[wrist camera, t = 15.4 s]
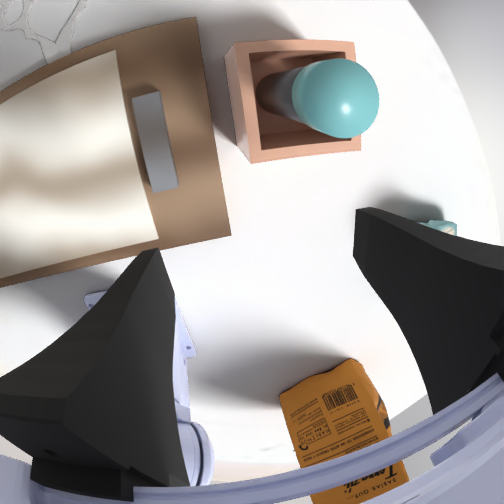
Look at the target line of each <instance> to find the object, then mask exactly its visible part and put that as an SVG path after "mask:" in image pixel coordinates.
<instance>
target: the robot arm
mask: <svg viewBox="0 0 504 504" xmlns="http://www.w3.org/2000/svg"><path fill="white" fill-rule="evenodd" d="M353 257H354V259H355V260H356V262H357V264H358V266H359V268H360V270H361V272H362V273H363V275H364V277H365V278H366V279H367V281H368V282H369V283H370V285H371V286H372V288H373V289H374V290H375V292H376V293H377V294H378V296H379V297H380V299H381V300H382V301H383V303H384V304H385V305H386V307H387V308H388V310H389V311H390V312H391V314H392V315H393V317H394V318H395V320H396V321H397V323H398V325H399V326H400V328H401V330H402V332H403V334H404V336H405V338H406V340H407V342H408V344H409V346H410V348H411V351H412V353H413V355H414V357H415V360H416V362H417V364H418V367H419V370H420V372H421V375H422V378H423V380H424V383H425V386H426V390H427V393H428V396H429V400H430V403H431V407H432V412H433V416H431V417H429V418H427V419H425V420H424V421H422V422H420V423H418V424H416V425H414V426H412V427H410V428H408V429H406V430H404V431H402V432H400V433H398V434H396V435H393V436H391V437H389V438H387V439H385V440H382V441H380V442H378V443H375V444H373V445H371V446H368V447H366V448H363V449H360V450H358V451H355V452H353V453H350V454H347V455H344V456H341V457H338V458H335V459H332V460H329V461H326V462H323V463H320V464H316V465H313V466H309V467H306V468H302V469H298V470H294V471H290V472H286V473H282V474H277V475H272V476H268V477H262V478H257V479H251V480H245V481H239V482H231V483H223V484H214V485H210V483H211V480H212V477H213V472H214V452H213V447H212V444H211V441H210V439H209V437H208V435H207V433H206V431H205V430H204V428H203V427H202V426H201V425H200V424H198V423H196V422H191V417H190V408H189V389H188V370H187V358H189V357H194V356H196V349H195V347H194V345H193V342H192V340H191V337H190V335H189V332H188V330H187V327H186V325H185V322H184V320H183V317H182V315H181V312H180V310H179V307H178V304H177V302H176V299H175V294H174V290H173V288H172V285H171V282H170V279H169V277H168V274H167V271H166V268H165V265H164V262H163V259H162V256H161V253H160V250H159V247H158V248H153V249H148V250H144V251H142V252H141V253H139V254H138V256H137V257H136V258H135V259H134V260H133V261H132V262H131V264H130V265H129V266H128V267H127V268H126V269H125V271H124V272H123V273H122V274H121V275H120V277H119V278H118V279H117V280H116V281H115V283H114V284H113V285H112V286H111V287H110V288H109V289H108V290H107V291H103V292H98V293H93V294H87V295H85V297H84V303H85V304H86V306H87V308H88V310H89V311H88V312H87V313H86V314H85V315H84V316H83V317H82V318H81V319H80V320H79V321H78V322H77V323H76V324H74V325H73V326H72V327H71V328H70V329H69V330H67V331H66V332H65V333H64V334H63V335H61V336H60V337H59V338H58V339H57V340H56V341H54V342H53V343H52V344H51V345H49V346H48V347H47V348H45V349H44V350H43V351H41V352H40V353H39V354H37V355H36V356H34V357H33V358H31V359H30V360H28V361H27V362H25V363H24V364H22V365H21V366H19V367H17V368H16V369H14V370H12V371H11V372H9V373H7V374H6V375H4V376H2V377H0V435H1V436H3V437H4V438H5V439H7V440H8V441H10V442H11V443H12V444H14V445H15V446H17V447H18V448H20V449H21V450H23V451H24V452H26V453H27V454H29V455H30V456H32V457H33V460H32V465H30V464H28V463H25V462H23V461H20V460H17V459H13V458H10V457H7V456H4V455H0V504H274V503H279V502H283V501H287V500H292V499H296V498H300V497H304V496H308V495H311V494H315V493H318V492H322V491H325V490H328V489H331V488H335V487H338V486H340V485H343V484H346V483H349V482H352V481H354V480H357V479H360V478H362V477H365V476H367V475H370V474H372V473H374V472H377V471H379V470H381V469H384V468H386V467H388V466H390V465H392V464H395V463H397V462H399V461H401V460H403V459H405V458H407V457H409V456H411V455H412V454H414V453H416V452H418V451H420V450H422V449H424V448H425V447H427V446H429V445H430V444H432V443H434V442H436V441H437V440H439V439H441V438H442V437H444V436H446V435H447V434H449V433H450V432H452V431H453V430H455V429H457V428H458V427H460V426H461V425H462V424H464V423H465V422H467V421H468V420H470V419H471V418H472V417H473V418H472V421H471V422H470V423H469V424H468V425H466V426H465V427H464V428H462V429H461V430H460V431H459V432H458V433H457V434H456V435H455V436H454V437H453V438H452V439H451V440H449V441H448V442H447V443H446V444H445V445H443V446H442V447H441V448H440V449H438V450H437V451H435V452H434V453H433V454H431V456H430V458H431V460H432V462H433V464H434V467H433V468H432V469H430V470H428V471H427V472H425V473H423V474H421V475H420V476H418V477H416V478H414V479H412V480H410V481H408V482H406V483H405V484H403V485H401V486H399V487H396V488H394V489H392V490H390V491H388V492H386V493H384V494H381V495H379V496H377V497H375V498H372V499H370V500H367V501H365V502H362V503H360V504H504V246H497V245H492V244H487V243H482V242H477V241H473V240H469V239H465V238H462V237H458V236H455V235H451V234H448V233H445V232H442V231H439V230H436V229H433V228H430V227H428V226H425V225H422V224H419V223H417V222H414V221H411V220H409V219H406V218H403V217H401V216H398V215H395V214H392V213H389V212H387V211H383V210H380V209H376V208H372V207H367V208H361V209H356V216H355V233H354V247H353ZM91 304H93V305H91ZM188 346H189V347H188Z"/></svg>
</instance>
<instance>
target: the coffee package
mask: <svg viewBox="0 0 504 504" xmlns="http://www.w3.org/2000/svg"><path fill="white" fill-rule="evenodd" d="M279 399H280V403H281V407H282V411H283V414H284V418H285V421H286V425H287V428H288V431H289V434H290V437H291V440H292V443H293V447H294V449H295V452H296V456H297V459H298V462H299V464H300V467H301V469H302V468H306V467H309V466H313V465H316V464H320V463H323V462H326V461H329V460H332V459H335V458H338V457H341V456H344V455H347V454H350V453H353V452H355V451H358V450H360V449H363V448H366V447H368V446H371V445H373V444H375V443H378V442H380V441H382V440H385V439H387V438H389V437H391V436H392V434H391V427H390V422H389V418H388V414H387V410H386V407H385V405H384V402H383V400H382V399H381V397H380V395H379V393H378V392H377V390H376V389H375V387H374V385H373V384H372V382H371V380H370V379H369V377H368V376H367V374H366V373H365V370H364V368H363V366H362V364H360V363H359V362H357V361H355V360H353V359H348V360H346V361H345V362H343V363H342V364H340V365H338V366H337V367H336V368H334V369H333V370H331V371H329V372H327V373H323V374H317V375H313V376H310V377H308V378H306V379H304V380H303V381H301V382H300V383H298V384H297V385H296V386H294V387H293V388H291V389H289V390H288V391H286V392H284V393H282V394H281V395H280V397H279ZM408 481H409V478H408V475H407V472H406V470H405V467H404V464H403V461H402V460H401V461H399V462H397V463H395V464H392V465H390V466H388V467H386V468H384V469H381V470H379V471H377V472H374V473H372V474H370V475H367V476H365V477H362V478H360V479H357V480H354V481H352V482H349V483H346V484H343V485H340V486H338V487H335V488H331V489H328V490H325V491H322V492H318V493H315V494H311V495H310V497H311V499H312V502H313V504H360V503H362V502H365V501H367V500H370V499H372V498H375V497H377V496H379V495H381V494H384V493H386V492H388V491H390V490H392V489H394V488H396V487H399V486H401V485H403V484H405V483H406V482H408Z"/></svg>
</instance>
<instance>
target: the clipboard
mask: <svg viewBox="0 0 504 504" xmlns="http://www.w3.org/2000/svg"><path fill="white" fill-rule="evenodd" d="M226 236H231V229H230V224H229V218H228V213H227V207H226V201H225V196H224V190H223V184H222V178H221V173H220V167H219V161H218V155H217V149H216V143H215V137H214V131H213V125H212V119H211V113H210V106H209V100H208V94H207V87H206V81H205V74H204V68H203V61H202V55H201V48H200V41H199V34H198V27H197V20H196V17H191V18H186V19H180V20H175V21H171V22H166V23H161V24H157V25H153V26H149V27H145V28H142V29H138V30H135V31H131V32H128V33H124V34H121V35H118V36H115V37H112V38H109V39H106V40H104V41H101V42H98V43H95V44H93V45H90V46H88V47H85V48H83V49H80V50H78V51H76V52H73V53H71V54H69V55H66V56H64V57H62V58H60V59H58V60H56V61H54V62H52V63H50V64H48V65H46V66H44V67H42V68H40V69H38V70H36V71H34V72H32V73H31V74H29V75H27V76H25V77H23V78H22V79H20V80H18V81H17V82H15V83H13V84H12V85H10V86H9V87H7V88H5V89H4V90H2V91H1V92H0V288H1V287H5V286H9V285H13V284H17V283H21V282H25V281H29V280H33V279H37V278H42V277H46V276H50V275H54V274H58V273H62V272H67V271H71V270H75V269H79V268H84V267H88V266H92V265H97V264H101V263H105V262H110V261H114V260H119V259H123V258H128V257H132V256H137V255H138V254H139V253H141V252H142V251H144V250H148V249H153V248H158V247H159V250H164V249H169V248H174V247H178V246H183V245H188V244H192V243H197V242H202V241H207V240H212V239H217V238H221V237H226Z"/></svg>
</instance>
